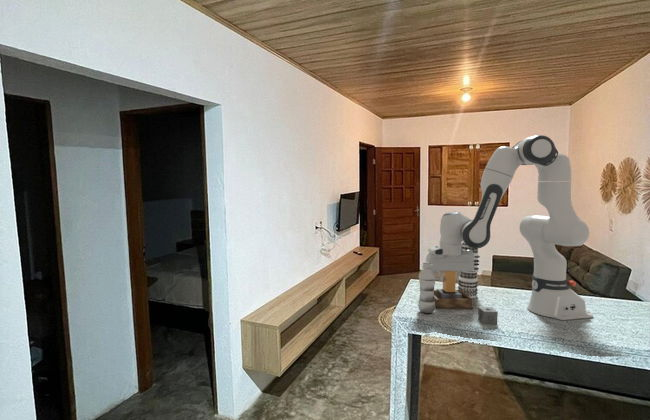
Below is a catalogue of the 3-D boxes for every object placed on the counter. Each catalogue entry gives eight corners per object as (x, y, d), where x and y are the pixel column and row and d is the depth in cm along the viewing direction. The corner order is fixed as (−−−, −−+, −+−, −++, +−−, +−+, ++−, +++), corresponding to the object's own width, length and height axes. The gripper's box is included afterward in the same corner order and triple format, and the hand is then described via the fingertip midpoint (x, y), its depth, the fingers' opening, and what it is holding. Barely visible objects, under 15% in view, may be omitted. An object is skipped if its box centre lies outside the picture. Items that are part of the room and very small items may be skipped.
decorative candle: (472, 291, 170) (474, 240, 168) (482, 298, 161) (484, 243, 159) (453, 292, 169) (455, 240, 167) (462, 298, 160) (464, 244, 158)
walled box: (459, 298, 160) (460, 286, 160) (472, 308, 147) (472, 296, 147) (426, 298, 160) (427, 287, 160) (436, 308, 147) (436, 296, 147)
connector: (451, 289, 155) (452, 267, 154) (455, 292, 151) (456, 269, 150) (442, 289, 155) (443, 267, 154) (445, 292, 151) (446, 269, 150)
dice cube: (483, 324, 131) (484, 311, 131) (477, 319, 136) (478, 306, 136) (497, 324, 131) (497, 311, 131) (491, 319, 136) (491, 307, 136)
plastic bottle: (436, 315, 140) (437, 265, 138) (418, 314, 141) (419, 264, 139) (434, 309, 146) (435, 262, 144) (417, 308, 147) (418, 261, 146)
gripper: (471, 248, 155) (469, 279, 156) (424, 248, 155) (423, 279, 156) (477, 251, 149) (476, 283, 150) (429, 250, 148) (428, 283, 150)
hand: (449, 281), depth 153 cm, fingers closed on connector, 4 cm apart
